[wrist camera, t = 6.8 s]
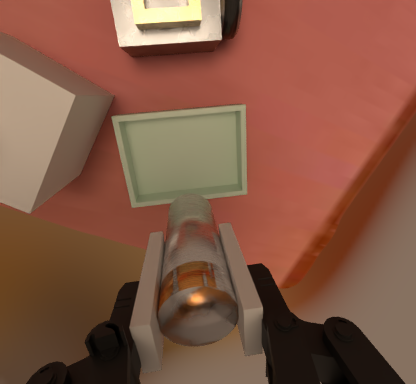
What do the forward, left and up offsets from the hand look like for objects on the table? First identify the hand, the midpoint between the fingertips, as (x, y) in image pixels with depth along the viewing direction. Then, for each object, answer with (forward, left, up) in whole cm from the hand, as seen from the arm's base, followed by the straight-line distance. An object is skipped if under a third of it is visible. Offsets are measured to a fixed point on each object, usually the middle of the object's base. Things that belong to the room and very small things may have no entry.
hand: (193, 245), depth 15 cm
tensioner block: (+1, +20, -28) cm, 34 cm away
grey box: (-21, +7, -28) cm, 36 cm away
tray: (0, 0, -28) cm, 28 cm away
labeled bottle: (0, 0, -5) cm, 5 cm away
